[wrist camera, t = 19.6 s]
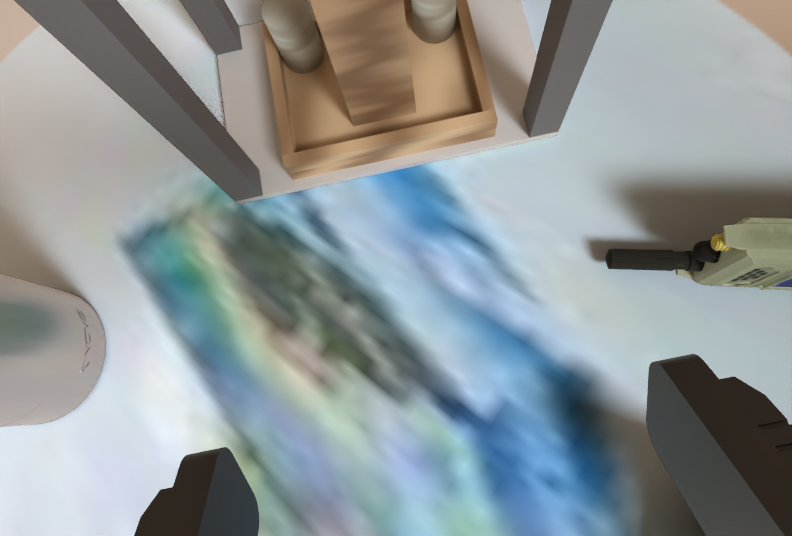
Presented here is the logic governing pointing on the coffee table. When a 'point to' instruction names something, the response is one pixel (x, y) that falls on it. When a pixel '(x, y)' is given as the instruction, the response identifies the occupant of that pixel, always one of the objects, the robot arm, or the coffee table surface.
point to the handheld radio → (725, 256)
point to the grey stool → (253, 98)
